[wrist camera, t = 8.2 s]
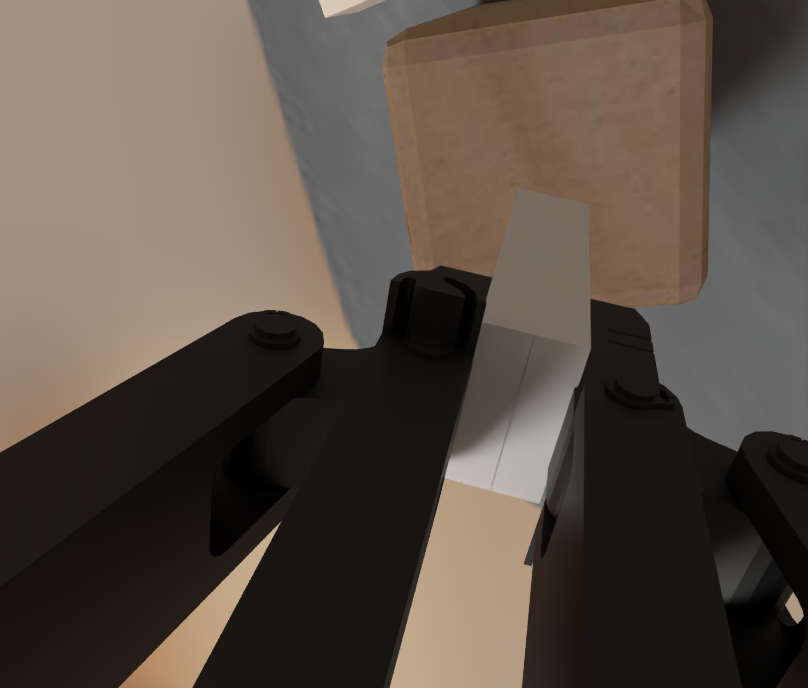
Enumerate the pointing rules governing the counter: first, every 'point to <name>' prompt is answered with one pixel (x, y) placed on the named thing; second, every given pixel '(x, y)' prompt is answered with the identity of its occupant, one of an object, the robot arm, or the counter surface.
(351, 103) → the counter surface
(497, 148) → the wooden block
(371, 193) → the counter surface
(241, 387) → the robot arm
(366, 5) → the marked cube cream
